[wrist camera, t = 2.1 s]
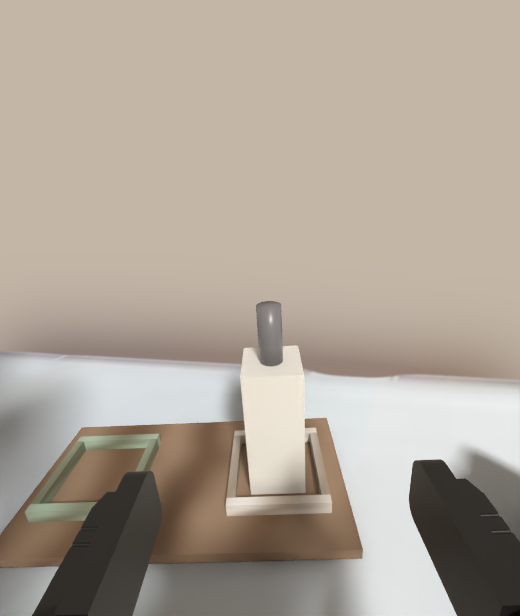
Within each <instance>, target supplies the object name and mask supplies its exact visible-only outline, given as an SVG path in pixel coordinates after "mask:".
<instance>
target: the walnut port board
mask: <svg viewBox="0 0 520 616" xmlns="http://www.w3.org/2000/svg"><path fill="white" fill-rule="evenodd" d="M135 471H152V472H153V473H154V477H155V481H156V485H157V490H158V494H159V498H160V502H161V508H162V516H161V524H160V528H159V532H158V535H157V538H156V541H155V544H154V548H153V551H152V554H151V557H150V560H149V564H162V563H201V562H239V561H278V560H316V559H355V558H362V551H363V549H362V545H361V542H360V538H359V535H358V531H357V527H356V524H355V520H354V516H353V513H352V509H351V505H350V502H349V498H348V494H347V491H346V487H345V483H344V480H343V476H342V473H341V469H340V465H339V462H338V458H337V454H336V451H335V447H334V443H333V440H332V436H331V432H330V429H329V425H328V422H327V418H314V419H305V493H289V494H258V495H251V490H250V479H249V468H248V457H247V446H246V435H245V425H244V421H238V422H212V423H187V424H162V425H136V426H111V427H85V428H81V430H80V431H79V432H78V434H77V435H76V436H75V438H74V439H73V440H72V442H71V443H70V444H69V446H68V447H67V448H66V449H65V451H64V452H63V453H62V455H61V456H60V457H59V459H58V460H57V461H56V463H55V464H54V465H53V466H52V468H51V469H50V470H49V472H48V473H47V474H46V476H45V477H44V478H43V480H42V481H41V482H40V484H39V485H38V486H37V487H36V489H35V490H34V491H33V493H32V494H31V495H30V497H29V498H28V499H27V501H26V502H25V503H24V505H23V506H22V507H21V508H20V510H19V511H18V512H17V514H16V515H15V516H14V518H13V519H12V520H11V522H10V523H9V524H8V525H7V527H6V528H5V529H4V531H3V532H2V533H1V535H0V568H8V567H46V566H60V564H61V563H62V561H63V559H64V557H65V555H66V554H67V552H68V550H69V548H70V547H72V543H73V541H74V539H75V537H76V535H77V534H78V532H79V531H80V530H81V526H82V524H83V523H84V521H85V519H86V517H87V515H88V514H89V512H90V510H91V508H92V507H93V506H94V505H95V504H96V503H97V502H98V501H99V500H100V499H101V498H102V497H103V496H104V495H105V493H106V492H116V490H117V488H118V486H119V484H120V482H121V480H122V478H123V476H124V474H125V473H126V472H135Z"/></svg>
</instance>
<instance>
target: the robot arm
mask: <svg viewBox="0 0 520 616" xmlns="http://www.w3.org/2000/svg"><path fill="white" fill-rule="evenodd" d="M409 504H410V510H411V514H412V517H413V520H414V522H415V524H416V526H417V529H418V531H419V533H420V535H421V537H422V540H423V542H424V544H425V546H426V548H427V551H428V553H429V555H430V557H431V559H432V561H433V564H434V566H435V568H436V570H437V572H438V575H439V577H440V579H441V581H442V583H443V586H444V588H445V590H446V592H447V594H448V597H449V599H450V601H451V603H452V605H453V607H454V610H455V612H456V614H457V616H520V542H519V541H518V540H517V538H516V537H515V535H514V534H512V533H511V532H510V529H509V527H508V526H507V524H506V523H505V522H504V520H503V519H502V518H501V517H499V515H498V512H497V511H496V509H495V508H494V507H493V505H492V504H491V503H490V501H489V500H488V498H487V497H486V496H485V494H484V493H482V492H481V491H480V490H479V489H477V488H476V487H475V486H474V485H473V484H471V483H470V482H469V481H468V480H467V479H456V478H455V476H454V475H453V473H452V472H451V471H450V469H449V468H448V466H447V465H446V463H445V462H444V461H443V460H417V461H414V463H413V468H412V476H411V485H410V493H409ZM161 516H162V508H161V502H160V498H159V494H158V490H157V485H156V481H155V477H154V473H153V472H152V471H135V472H126V473H125V474H124V476H123V478H122V480H121V482H120V484H119V486H118V488H117V490H116V492H106V493H105V495H104V496H103V497H102V498H101V499H100V500H99V501H98V502H97V503H96V504H95V505H94V506H93V507H92V508H91V510H90V512H89V514H88V515H87V517H86V519H85V521H84V523H83V524H82V526H81V530H80V531H79V532H78V534H77V535H76V537H75V539H74V541H73V543H72V547H70V548H69V550H68V552H67V554H66V555H65V557H64V559H63V561H62V563H61V564H60V566H59V568H58V570H57V572H56V574H55V575H54V577H53V579H52V581H51V583H50V584H49V586H48V588H47V590H46V592H45V594H44V595H43V597H42V599H41V601H40V603H39V604H38V606H37V608H36V610H35V612H34V613H33V615H32V616H132V615H133V611H134V608H135V605H136V602H137V599H138V596H139V592H140V589H141V586H142V583H143V580H144V576H145V573H146V570H147V567H148V564H149V560H150V557H151V554H152V551H153V548H154V544H155V541H156V538H157V535H158V532H159V528H160V524H161Z"/></svg>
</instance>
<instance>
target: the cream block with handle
mask: <svg viewBox="0 0 520 616" xmlns="http://www.w3.org/2000/svg"><path fill="white" fill-rule="evenodd" d="M256 311H257V326H258V327H257V328H258V343H259V347H258V348H257V347H256V348H244V351H243V359H242V367H241V375H240V381H241V392H242V403H243V414H244V425H245V435H246V446H247V457H248V468H249V479H250V490H251V495H258V494H289V493H305V407H304V372H303V367H302V363H301V358H300V354H299V349H298V346H283V345H282V321H281V320H282V319H281V318H282V317H281V304H280V303H278V302H274V301H266V302H261V303H259V304H257V305H256Z"/></svg>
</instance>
